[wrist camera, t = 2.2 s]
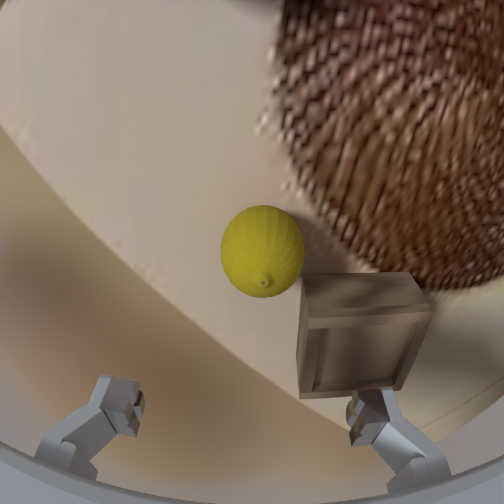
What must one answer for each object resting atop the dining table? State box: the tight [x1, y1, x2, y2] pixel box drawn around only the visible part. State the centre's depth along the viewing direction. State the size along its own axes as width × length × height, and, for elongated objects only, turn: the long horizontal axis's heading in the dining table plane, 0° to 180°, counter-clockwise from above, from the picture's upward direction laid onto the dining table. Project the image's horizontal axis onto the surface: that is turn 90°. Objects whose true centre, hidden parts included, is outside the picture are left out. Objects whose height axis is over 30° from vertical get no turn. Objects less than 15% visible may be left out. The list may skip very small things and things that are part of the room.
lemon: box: [221, 205, 305, 298], centre depth 21 cm, size 6×6×8 cm
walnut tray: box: [296, 272, 434, 399], centre depth 26 cm, size 10×10×6 cm
